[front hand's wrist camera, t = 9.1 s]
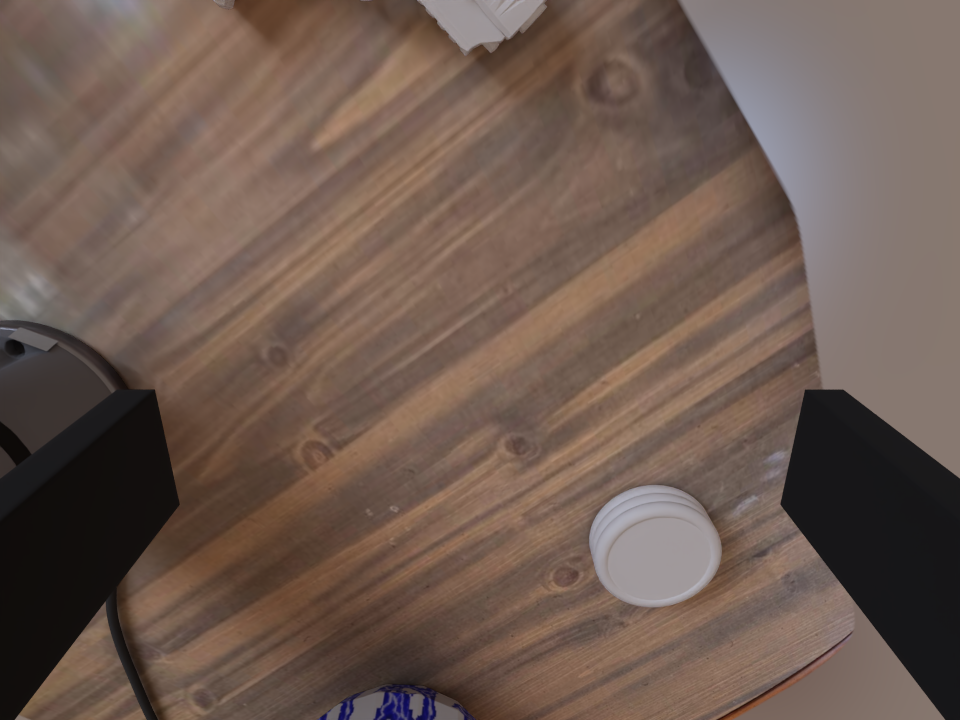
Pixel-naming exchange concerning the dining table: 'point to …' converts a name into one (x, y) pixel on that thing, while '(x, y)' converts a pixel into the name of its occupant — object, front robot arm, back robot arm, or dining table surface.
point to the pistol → (474, 19)
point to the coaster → (654, 546)
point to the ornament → (398, 705)
